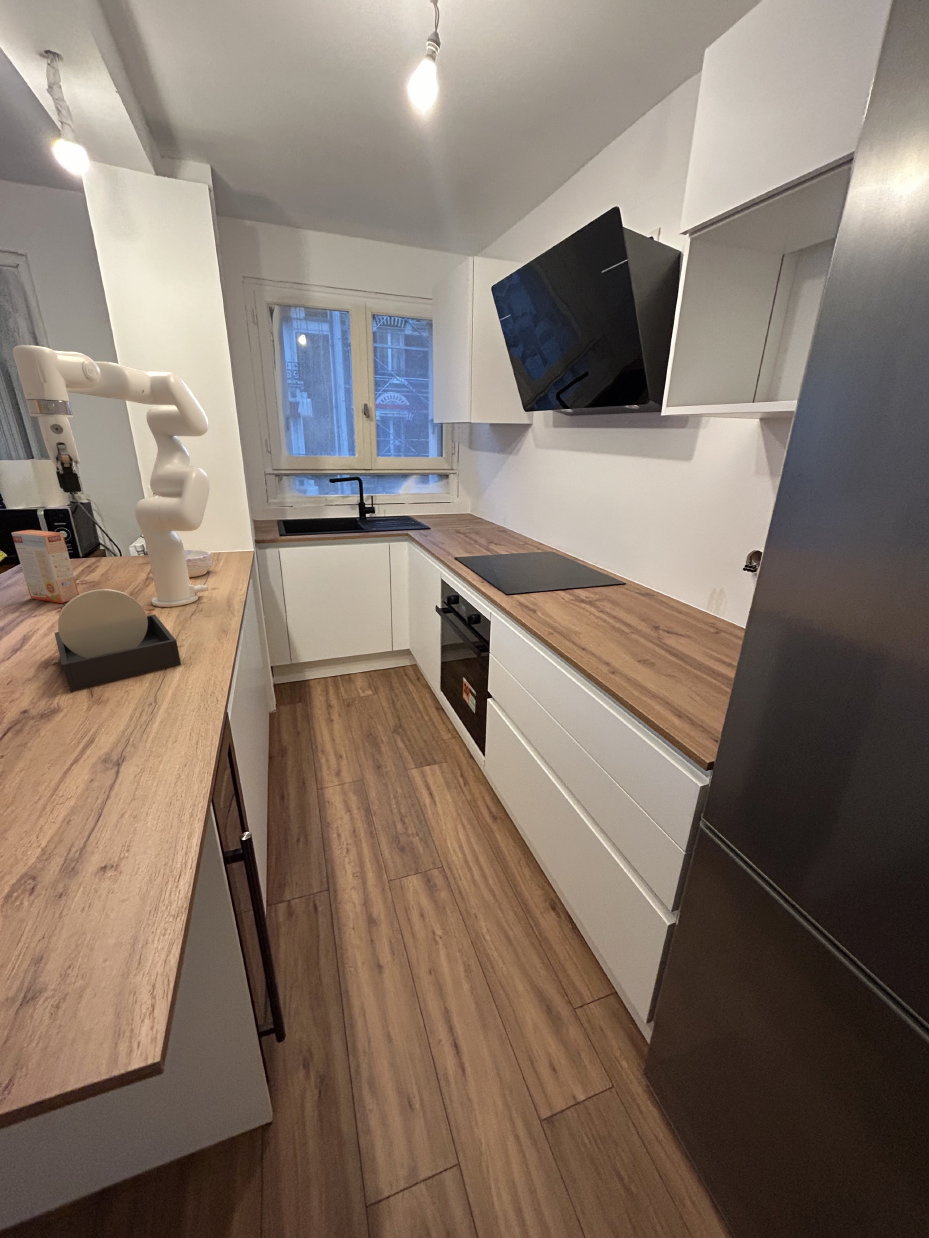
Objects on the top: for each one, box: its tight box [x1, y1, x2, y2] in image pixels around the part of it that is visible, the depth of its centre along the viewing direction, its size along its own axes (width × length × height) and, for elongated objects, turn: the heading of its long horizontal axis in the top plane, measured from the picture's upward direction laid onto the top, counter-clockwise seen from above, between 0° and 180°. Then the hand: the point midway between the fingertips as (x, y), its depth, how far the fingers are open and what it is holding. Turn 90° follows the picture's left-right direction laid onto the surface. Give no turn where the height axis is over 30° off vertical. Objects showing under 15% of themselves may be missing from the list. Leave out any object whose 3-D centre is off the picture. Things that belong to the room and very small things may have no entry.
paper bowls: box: [184, 549, 214, 578], centre depth 179 cm, size 15×15×8 cm
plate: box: [57, 588, 148, 658], centre depth 107 cm, size 16×1×16 cm, turn 131°
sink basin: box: [54, 613, 182, 693], centre depth 110 cm, size 20×22×6 cm
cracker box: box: [11, 529, 80, 604], centre depth 148 cm, size 14×6×21 cm, turn 71°
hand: (70, 490), depth 112 cm, fingers open, 9 cm apart
